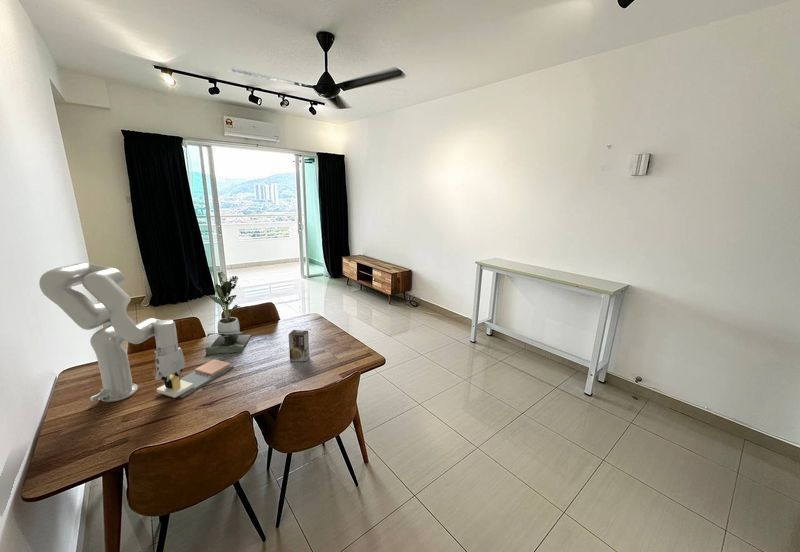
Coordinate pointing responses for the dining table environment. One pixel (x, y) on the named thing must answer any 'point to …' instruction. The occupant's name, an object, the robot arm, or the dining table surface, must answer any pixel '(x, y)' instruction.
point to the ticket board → (200, 380)
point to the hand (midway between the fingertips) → (173, 385)
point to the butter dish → (175, 387)
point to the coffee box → (299, 345)
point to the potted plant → (227, 322)
